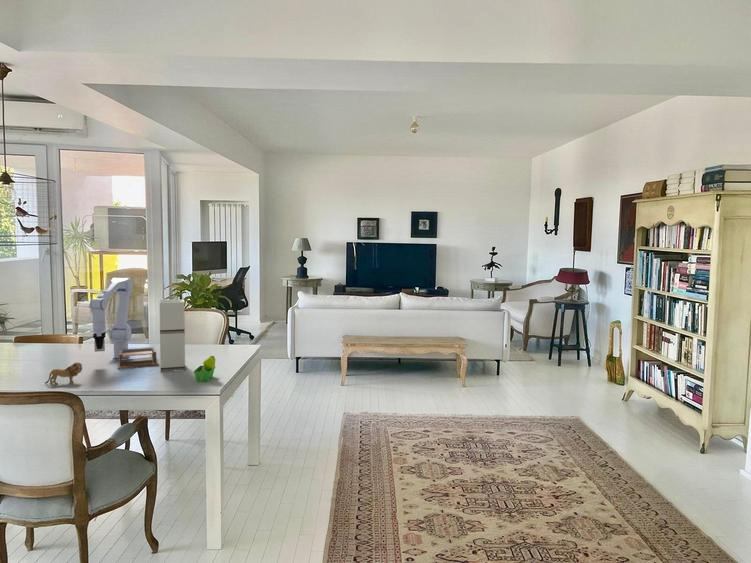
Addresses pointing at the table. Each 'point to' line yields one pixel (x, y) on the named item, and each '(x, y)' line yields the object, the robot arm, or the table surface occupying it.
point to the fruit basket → (205, 370)
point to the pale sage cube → (100, 349)
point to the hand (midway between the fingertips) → (99, 347)
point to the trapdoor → (137, 351)
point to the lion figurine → (65, 372)
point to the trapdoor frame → (137, 361)
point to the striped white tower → (172, 335)
